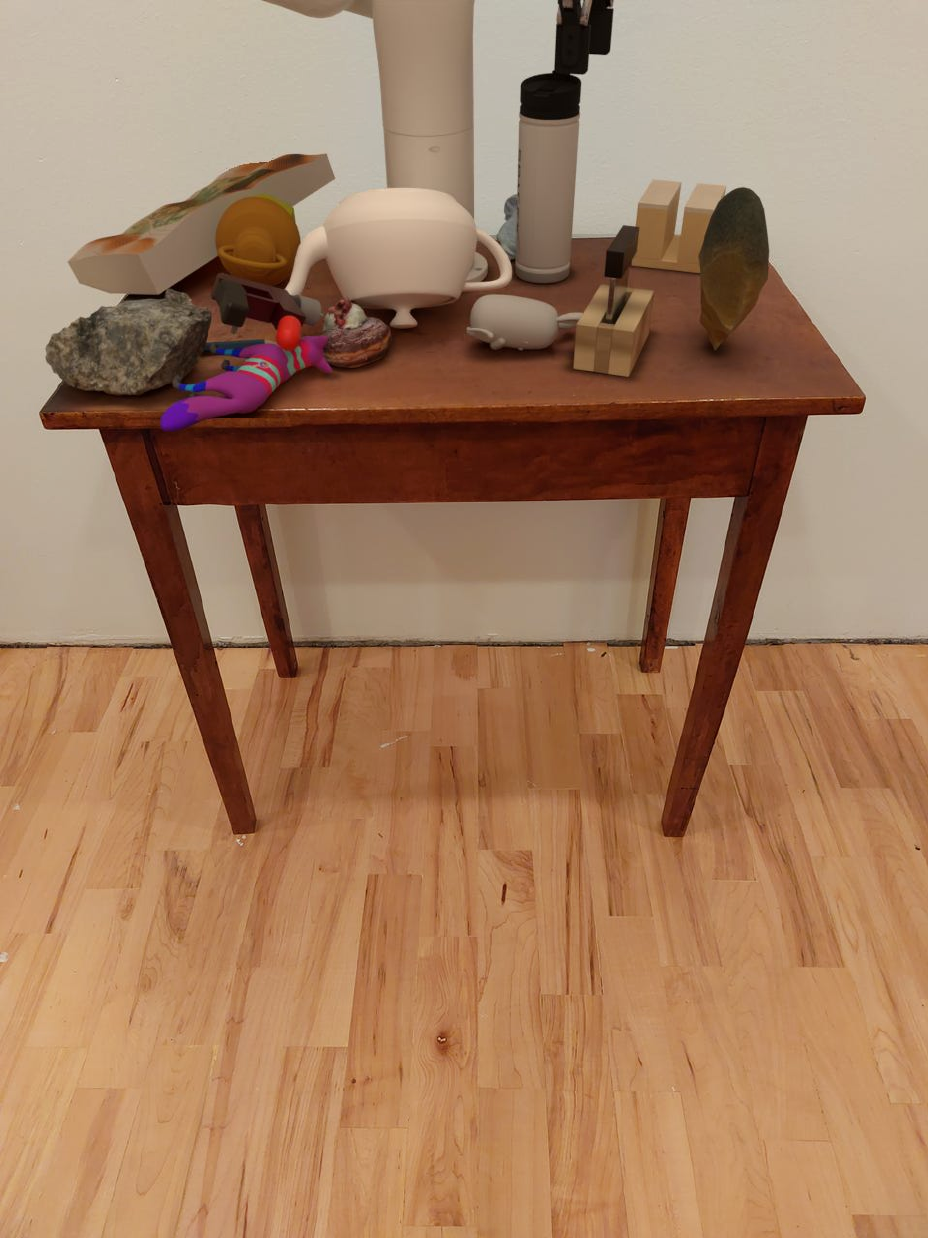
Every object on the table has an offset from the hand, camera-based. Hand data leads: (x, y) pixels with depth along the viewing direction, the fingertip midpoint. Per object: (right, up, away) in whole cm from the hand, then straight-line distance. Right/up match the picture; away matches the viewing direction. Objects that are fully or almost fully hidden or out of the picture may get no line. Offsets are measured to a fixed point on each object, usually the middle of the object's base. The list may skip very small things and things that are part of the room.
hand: (582, 62), depth 92 cm
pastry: (-23, -29, -1) cm, 37 cm away
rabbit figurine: (-5, -28, 0) cm, 29 cm away
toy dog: (-36, -33, -8) cm, 50 cm away
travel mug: (-3, -16, +15) cm, 22 cm away
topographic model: (-42, -10, +18) cm, 46 cm away
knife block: (+3, -29, -1) cm, 29 cm away
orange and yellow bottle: (-35, -17, +14) cm, 41 cm away
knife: (+3, -29, -1) cm, 29 cm away
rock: (-43, -31, -12) cm, 54 cm away
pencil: (-37, -29, 0) cm, 47 cm away
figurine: (-4, -10, +21) cm, 24 cm away
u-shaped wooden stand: (+13, -12, +18) cm, 25 cm away
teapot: (-19, -14, -1) cm, 24 cm away
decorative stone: (+13, -29, -1) cm, 32 cm away
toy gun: (-28, -27, -9) cm, 40 cm away
